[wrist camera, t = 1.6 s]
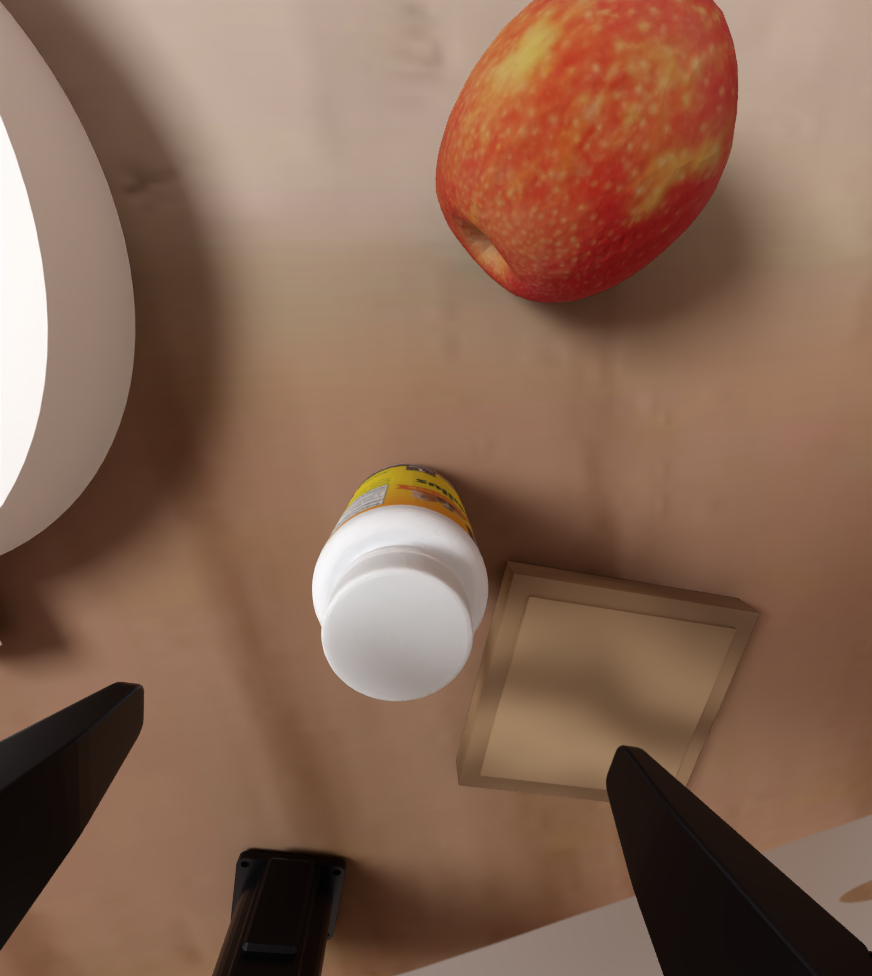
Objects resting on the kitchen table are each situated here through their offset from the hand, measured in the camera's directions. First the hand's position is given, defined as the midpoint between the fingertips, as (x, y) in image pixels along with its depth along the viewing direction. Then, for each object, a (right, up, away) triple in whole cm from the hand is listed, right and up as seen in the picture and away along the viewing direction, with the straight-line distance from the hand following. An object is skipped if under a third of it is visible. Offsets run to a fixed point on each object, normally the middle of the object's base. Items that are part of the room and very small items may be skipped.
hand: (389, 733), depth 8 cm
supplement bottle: (-1, +3, +13) cm, 13 cm away
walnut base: (+10, -6, +16) cm, 19 cm away
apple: (+5, +16, +10) cm, 20 cm away
